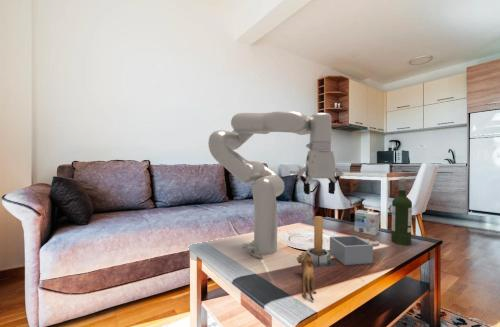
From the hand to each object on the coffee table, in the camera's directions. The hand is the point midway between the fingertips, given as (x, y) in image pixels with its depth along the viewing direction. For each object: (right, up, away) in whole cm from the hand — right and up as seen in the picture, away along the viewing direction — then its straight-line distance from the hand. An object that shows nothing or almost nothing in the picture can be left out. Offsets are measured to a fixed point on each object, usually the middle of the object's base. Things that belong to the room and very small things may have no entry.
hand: (319, 193), depth 91 cm
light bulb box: (+37, -26, +40) cm, 60 cm away
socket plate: (0, -26, 0) cm, 26 cm away
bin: (+13, -26, +3) cm, 29 cm away
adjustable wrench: (+22, -27, +17) cm, 39 cm away
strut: (0, -25, 0) cm, 25 cm away
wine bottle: (+45, -26, +24) cm, 58 cm away
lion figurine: (-8, -27, -16) cm, 32 cm away
